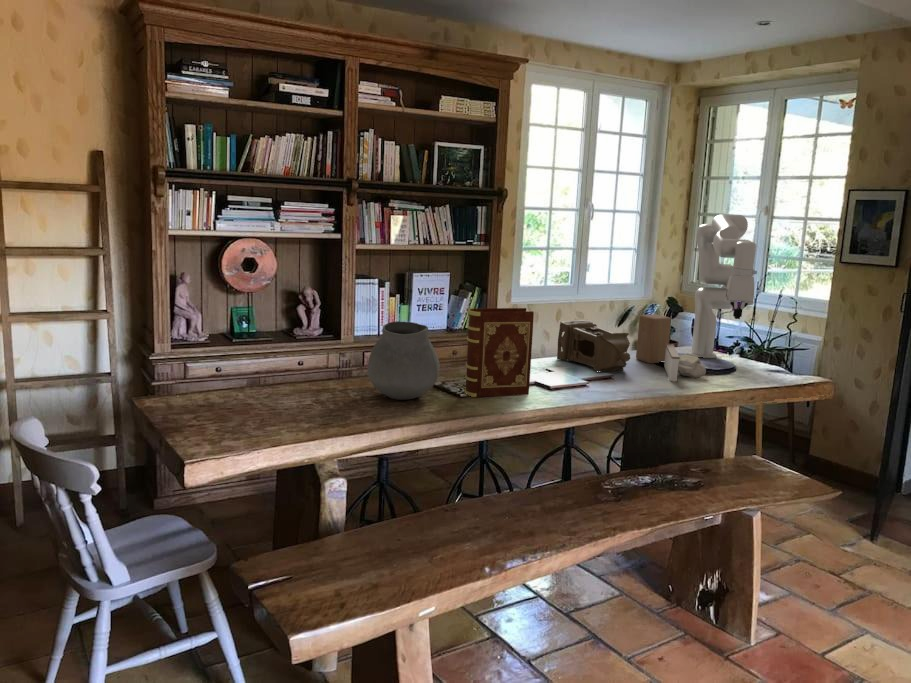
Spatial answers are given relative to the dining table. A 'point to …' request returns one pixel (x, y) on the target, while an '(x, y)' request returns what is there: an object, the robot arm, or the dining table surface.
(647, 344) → the wooden block
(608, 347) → the brown machine part
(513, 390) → the decorative book
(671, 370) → the grey board
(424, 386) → the ceramic pot
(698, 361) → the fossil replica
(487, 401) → the dining table surface
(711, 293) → the robot arm
